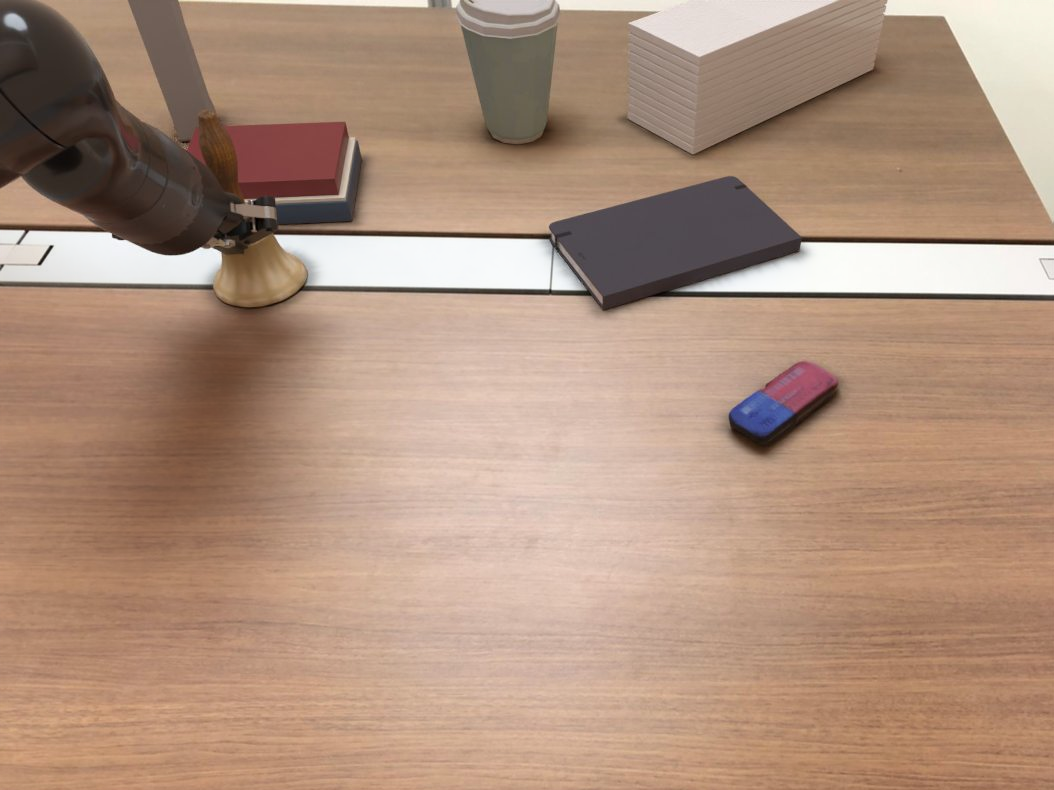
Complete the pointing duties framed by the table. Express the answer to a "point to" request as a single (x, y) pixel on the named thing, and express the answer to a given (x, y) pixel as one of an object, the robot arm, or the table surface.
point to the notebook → (671, 240)
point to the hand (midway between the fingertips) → (234, 242)
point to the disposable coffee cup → (511, 62)
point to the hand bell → (264, 263)
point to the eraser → (783, 402)
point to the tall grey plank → (173, 62)
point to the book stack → (297, 168)
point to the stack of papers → (742, 62)
